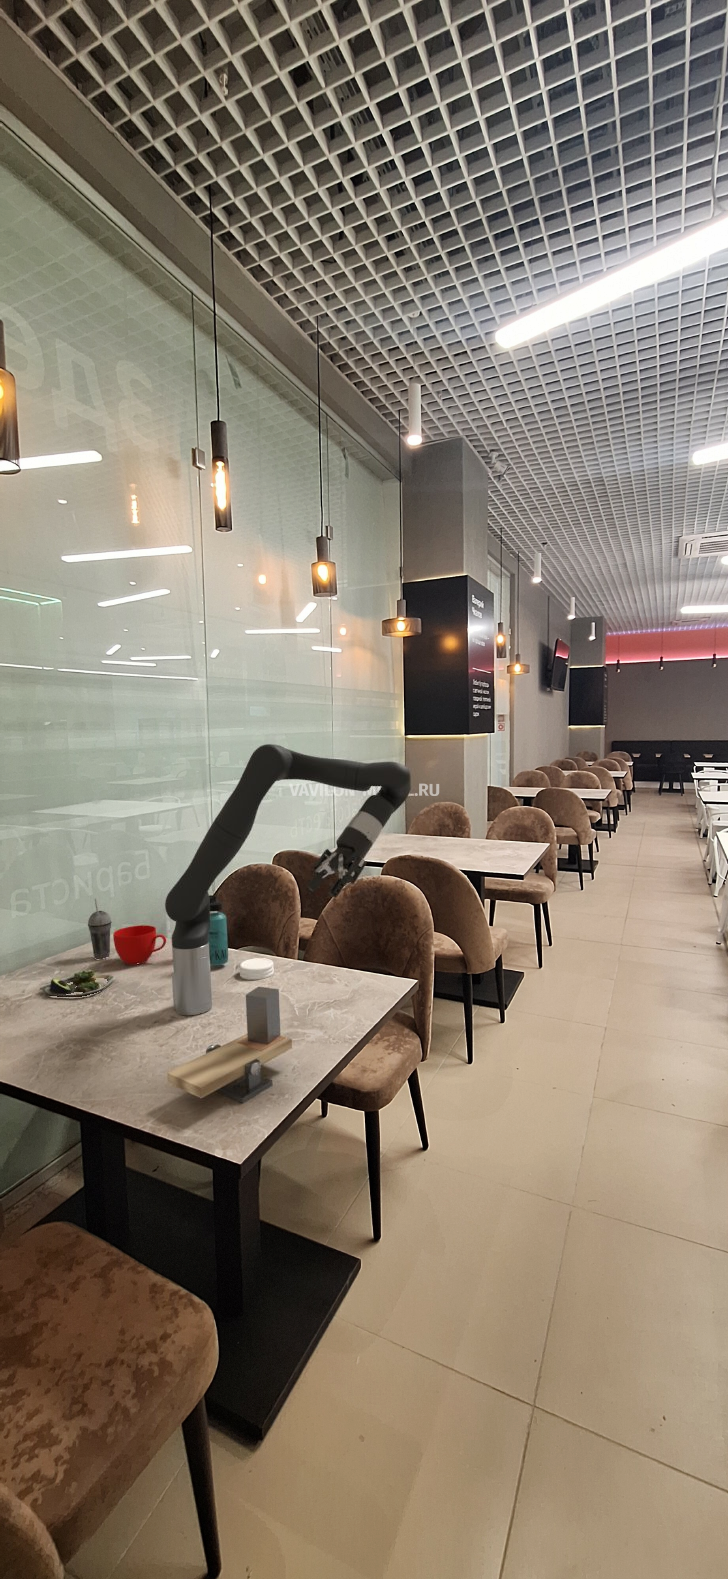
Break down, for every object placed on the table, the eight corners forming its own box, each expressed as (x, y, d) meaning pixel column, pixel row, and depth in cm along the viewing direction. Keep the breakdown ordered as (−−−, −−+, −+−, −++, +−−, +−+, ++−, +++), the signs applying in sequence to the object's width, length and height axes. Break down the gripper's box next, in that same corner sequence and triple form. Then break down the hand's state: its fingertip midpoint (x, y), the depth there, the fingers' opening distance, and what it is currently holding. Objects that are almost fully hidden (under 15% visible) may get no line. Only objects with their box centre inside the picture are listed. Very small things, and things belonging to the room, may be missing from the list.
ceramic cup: (157, 969, 205) (155, 937, 204) (107, 968, 208) (104, 936, 207) (176, 955, 218) (174, 925, 217) (128, 954, 221) (126, 925, 220)
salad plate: (75, 974, 204) (74, 959, 204) (128, 976, 201) (127, 961, 200) (32, 999, 186) (30, 982, 185) (89, 1002, 182) (88, 985, 182)
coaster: (273, 967, 204) (272, 956, 204) (274, 978, 194) (274, 967, 194) (240, 970, 202) (239, 959, 202) (239, 982, 192) (239, 970, 192)
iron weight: (247, 1041, 140) (245, 994, 139) (260, 1031, 145) (258, 986, 144) (268, 1044, 138) (266, 997, 137) (280, 1034, 143) (278, 989, 142)
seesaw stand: (195, 1082, 136) (194, 1053, 135) (226, 1066, 142) (224, 1038, 142) (242, 1103, 127) (241, 1072, 127) (272, 1085, 134) (271, 1055, 133)
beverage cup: (118, 955, 220) (114, 895, 219) (103, 962, 214) (99, 901, 212) (100, 953, 223) (96, 894, 221) (85, 960, 216) (80, 900, 214)
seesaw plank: (167, 1082, 128) (167, 1071, 128) (259, 1036, 147) (258, 1027, 147) (201, 1098, 122) (200, 1086, 122) (292, 1048, 141) (291, 1038, 141)
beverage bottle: (209, 963, 209) (205, 901, 207) (230, 962, 209) (227, 899, 208) (205, 971, 202) (202, 906, 201) (228, 969, 203) (224, 905, 201)
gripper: (332, 823, 159) (293, 877, 153) (369, 828, 148) (328, 887, 142) (351, 842, 163) (313, 896, 157) (388, 848, 152) (349, 907, 146)
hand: (320, 892), depth 149 cm, fingers open, 8 cm apart
